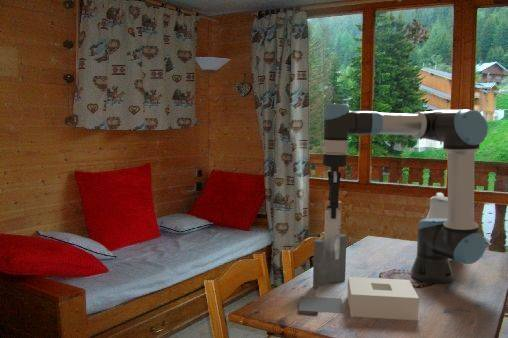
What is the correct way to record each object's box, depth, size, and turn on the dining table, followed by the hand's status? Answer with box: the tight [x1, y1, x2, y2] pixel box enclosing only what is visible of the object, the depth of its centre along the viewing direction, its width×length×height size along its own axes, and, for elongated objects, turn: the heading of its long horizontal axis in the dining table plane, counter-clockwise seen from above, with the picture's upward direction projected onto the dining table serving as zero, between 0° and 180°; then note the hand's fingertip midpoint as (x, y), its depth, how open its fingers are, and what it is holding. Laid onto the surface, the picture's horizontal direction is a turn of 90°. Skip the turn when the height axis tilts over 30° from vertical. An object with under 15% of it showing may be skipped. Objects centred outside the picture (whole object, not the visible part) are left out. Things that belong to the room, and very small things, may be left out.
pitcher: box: [425, 192, 453, 262], centre depth 214 cm, size 24×17×28 cm
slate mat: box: [298, 295, 345, 316], centre depth 157 cm, size 14×12×1 cm
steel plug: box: [323, 199, 342, 260], centre depth 153 cm, size 5×5×18 cm
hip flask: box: [312, 233, 347, 290], centre depth 178 cm, size 16×4×20 cm, turn 128°
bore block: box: [346, 276, 420, 321], centre depth 154 cm, size 20×16×8 cm
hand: (332, 226), depth 153 cm, fingers closed on steel plug, 5 cm apart
